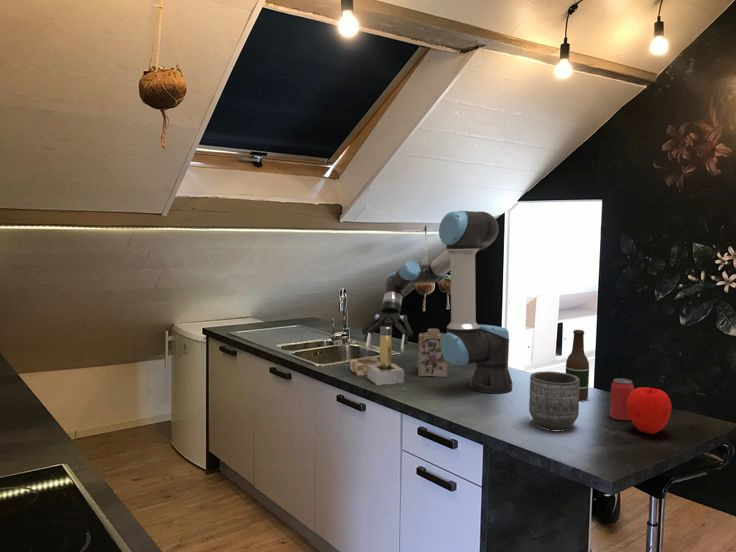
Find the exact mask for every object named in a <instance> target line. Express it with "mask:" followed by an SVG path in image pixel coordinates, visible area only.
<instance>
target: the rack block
mask: <svg viewBox="0 0 736 552" xmlns="http://www.w3.org/2000/svg"><path fill="white" fill-rule="evenodd" d="M379 364H380V359H378V358H376V357H369V358H368V357H367V358H353V359H349V369H350V371H352V372H353V373H354V372H355V373H356V374H355V373H354V374H355V375H357V376H367V365H379Z"/></svg>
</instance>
